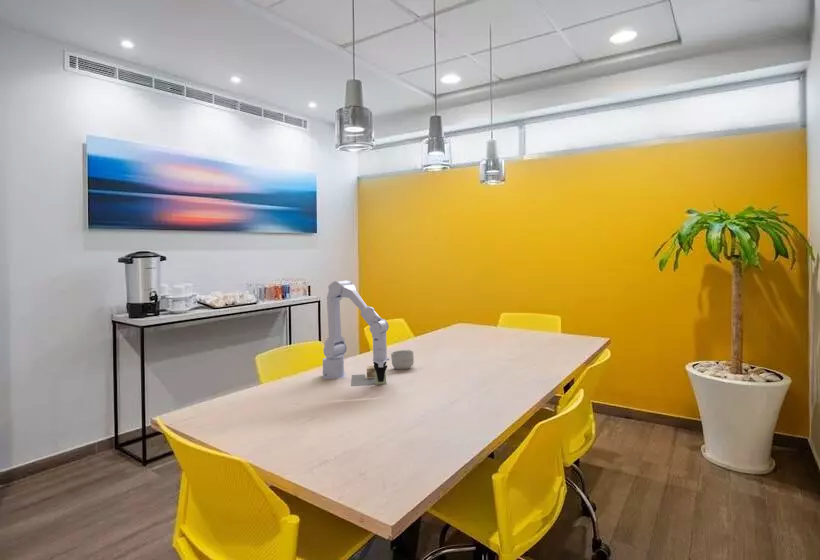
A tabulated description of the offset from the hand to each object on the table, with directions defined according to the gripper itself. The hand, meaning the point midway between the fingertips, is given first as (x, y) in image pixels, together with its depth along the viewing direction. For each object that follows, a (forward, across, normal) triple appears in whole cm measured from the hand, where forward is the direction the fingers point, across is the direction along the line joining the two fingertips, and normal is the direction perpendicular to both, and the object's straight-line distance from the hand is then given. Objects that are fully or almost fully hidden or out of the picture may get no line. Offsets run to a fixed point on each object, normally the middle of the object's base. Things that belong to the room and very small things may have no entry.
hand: (380, 379), depth 202 cm
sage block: (+1, 0, 0) cm, 1 cm away
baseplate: (+2, +6, +5) cm, 8 cm away
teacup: (+2, +24, -12) cm, 27 cm away
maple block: (+1, +10, +3) cm, 11 cm away
